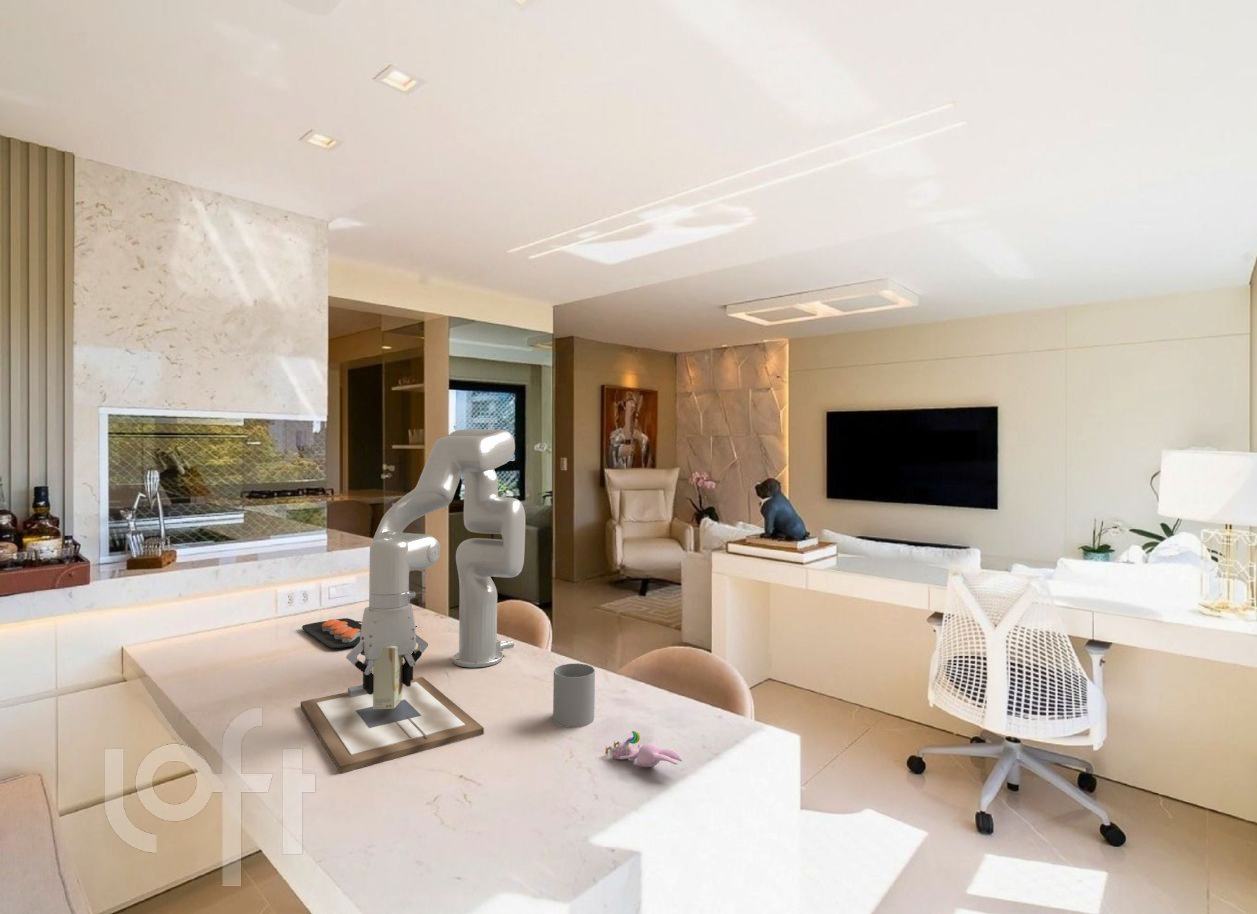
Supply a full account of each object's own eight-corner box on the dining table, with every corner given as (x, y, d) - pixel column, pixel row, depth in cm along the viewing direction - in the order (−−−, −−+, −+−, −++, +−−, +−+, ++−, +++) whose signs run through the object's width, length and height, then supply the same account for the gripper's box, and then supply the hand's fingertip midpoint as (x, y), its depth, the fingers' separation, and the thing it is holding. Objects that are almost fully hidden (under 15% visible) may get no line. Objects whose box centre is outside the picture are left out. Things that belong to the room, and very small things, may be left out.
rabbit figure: (600, 767, 115) (671, 780, 107) (596, 733, 116) (666, 743, 107) (621, 754, 120) (690, 765, 112) (617, 722, 121) (686, 730, 112)
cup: (600, 714, 135) (600, 666, 135) (585, 730, 127) (585, 679, 127) (563, 708, 138) (564, 661, 138) (546, 723, 130) (546, 674, 130)
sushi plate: (298, 631, 193) (298, 618, 193) (396, 615, 214) (396, 603, 214) (332, 655, 172) (332, 641, 172) (437, 634, 192) (437, 621, 192)
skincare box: (394, 709, 128) (395, 648, 127) (372, 710, 127) (372, 648, 127) (403, 697, 134) (403, 638, 134) (381, 697, 134) (382, 638, 134)
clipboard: (422, 681, 152) (422, 669, 152) (483, 734, 125) (483, 719, 125) (300, 707, 136) (300, 694, 136) (340, 773, 109) (340, 757, 109)
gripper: (425, 591, 139) (424, 674, 139) (338, 602, 128) (337, 692, 128) (437, 598, 133) (436, 685, 133) (348, 610, 122) (347, 704, 122)
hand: (388, 687), depth 131 cm, fingers closed on skincare box, 6 cm apart
